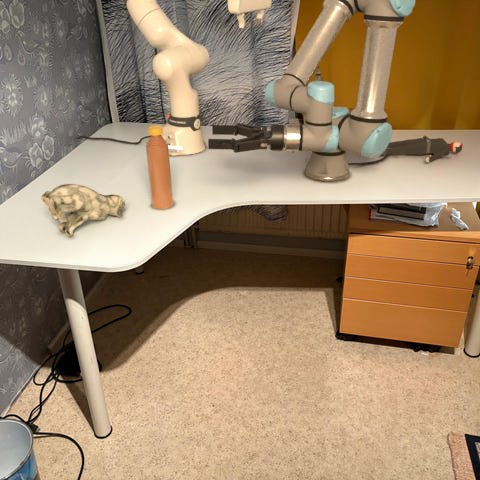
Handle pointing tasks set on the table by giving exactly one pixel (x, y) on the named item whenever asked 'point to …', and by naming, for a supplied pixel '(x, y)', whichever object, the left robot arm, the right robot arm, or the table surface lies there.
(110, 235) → the table surface
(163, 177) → the bottle
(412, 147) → the toy
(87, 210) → the figurine
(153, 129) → the cap
